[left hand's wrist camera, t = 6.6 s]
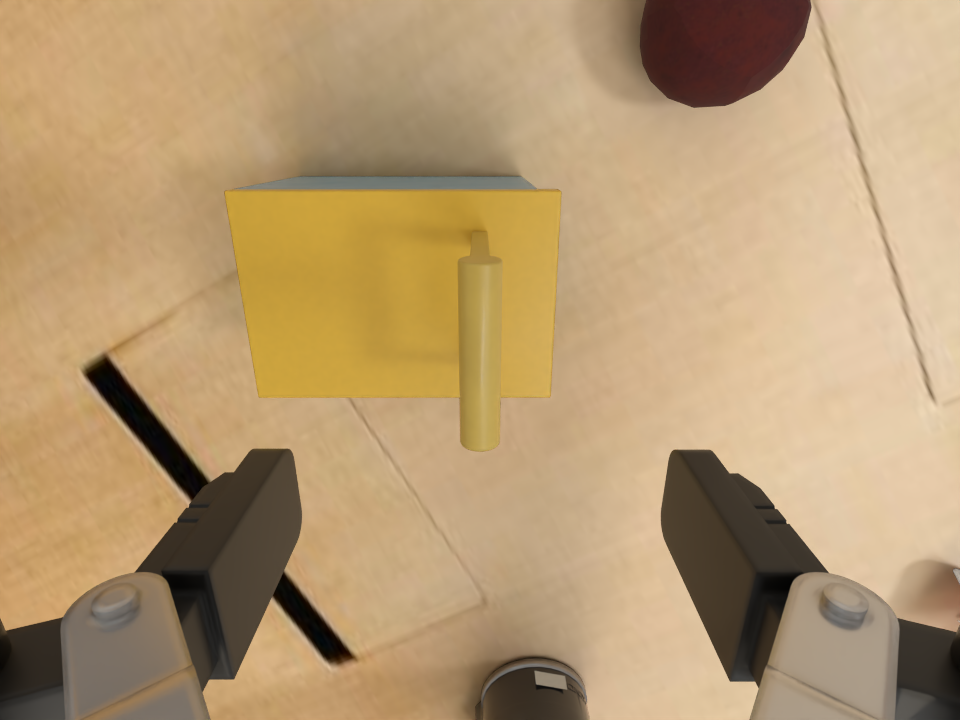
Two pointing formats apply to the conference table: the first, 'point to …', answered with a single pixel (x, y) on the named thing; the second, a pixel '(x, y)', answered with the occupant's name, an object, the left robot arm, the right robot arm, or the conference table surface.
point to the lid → (400, 294)
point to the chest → (397, 182)
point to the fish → (957, 576)
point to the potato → (719, 46)
